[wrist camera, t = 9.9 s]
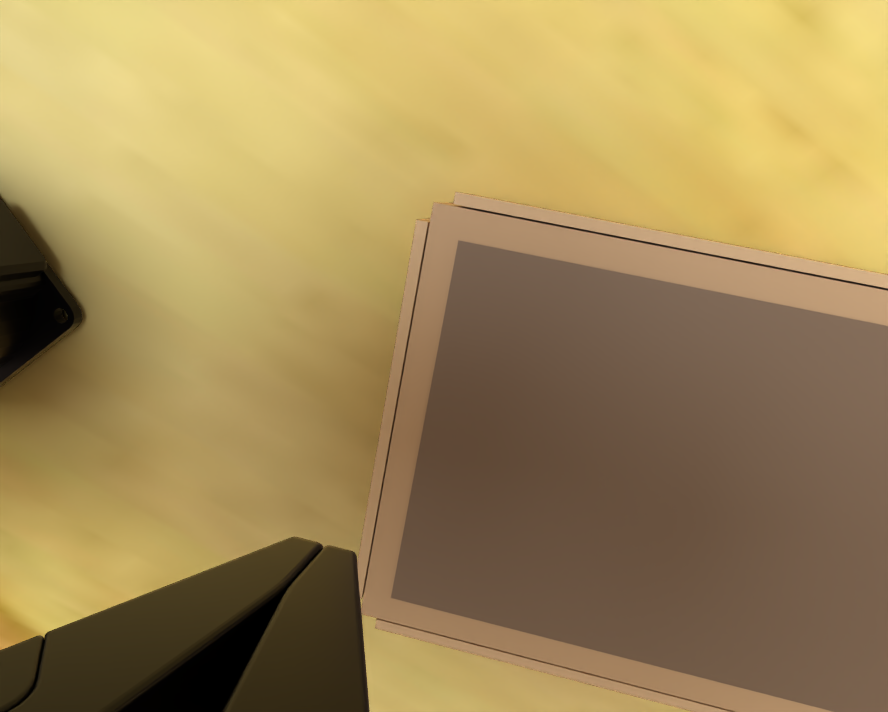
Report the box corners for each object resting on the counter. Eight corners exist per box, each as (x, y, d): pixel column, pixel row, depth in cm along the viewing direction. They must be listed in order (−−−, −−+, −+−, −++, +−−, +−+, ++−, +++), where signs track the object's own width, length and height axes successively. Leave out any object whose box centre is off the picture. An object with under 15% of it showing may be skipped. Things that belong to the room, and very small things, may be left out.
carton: (375, 560, 23) (346, 621, 20) (442, 188, 20) (422, 185, 17) (864, 683, 21) (924, 773, 18) (1018, 299, 18) (1127, 321, 15)
